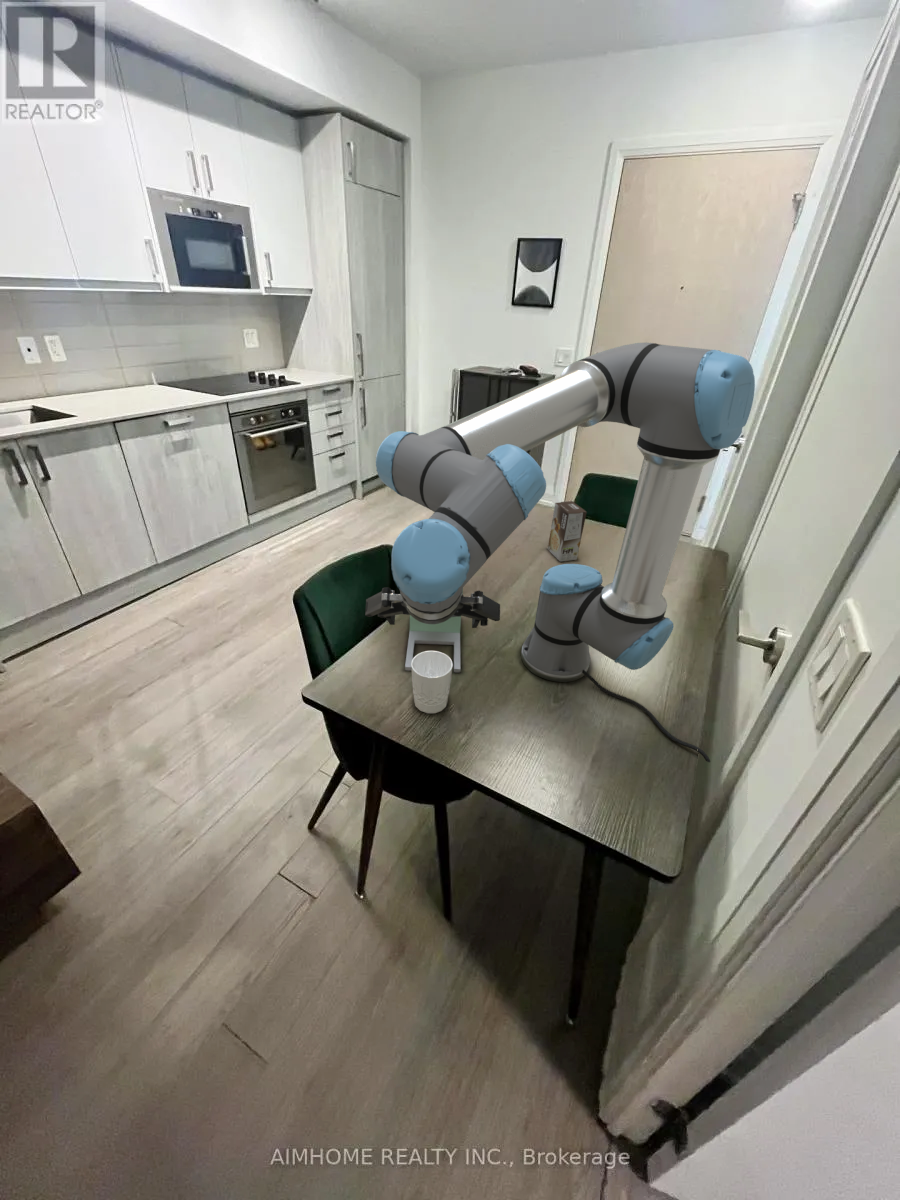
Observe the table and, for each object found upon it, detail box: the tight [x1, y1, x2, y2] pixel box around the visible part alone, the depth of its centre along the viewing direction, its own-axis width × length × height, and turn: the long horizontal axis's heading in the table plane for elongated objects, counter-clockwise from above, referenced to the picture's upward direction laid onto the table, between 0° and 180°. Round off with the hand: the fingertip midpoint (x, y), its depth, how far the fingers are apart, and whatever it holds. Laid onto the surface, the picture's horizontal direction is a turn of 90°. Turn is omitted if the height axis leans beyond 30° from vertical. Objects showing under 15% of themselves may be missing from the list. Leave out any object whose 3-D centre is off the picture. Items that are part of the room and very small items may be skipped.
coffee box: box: [547, 500, 588, 562], centre depth 150 cm, size 9×6×16 cm
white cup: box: [411, 650, 454, 714], centre depth 95 cm, size 8×8×10 cm
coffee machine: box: [404, 590, 464, 673], centre depth 107 cm, size 20×12×23 cm, turn 0°
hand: (433, 618), depth 81 cm, fingers open, 13 cm apart
